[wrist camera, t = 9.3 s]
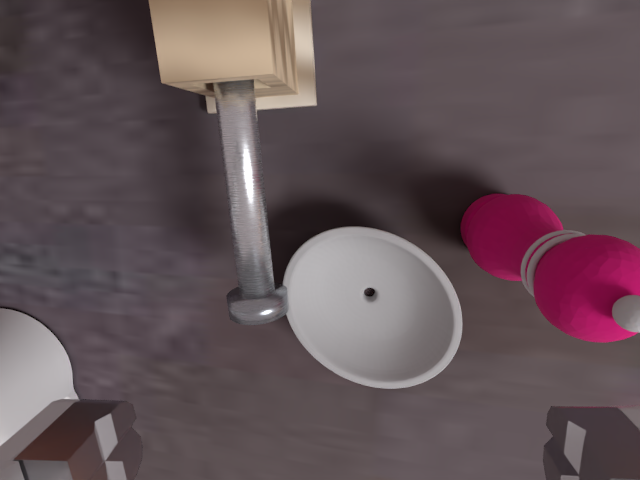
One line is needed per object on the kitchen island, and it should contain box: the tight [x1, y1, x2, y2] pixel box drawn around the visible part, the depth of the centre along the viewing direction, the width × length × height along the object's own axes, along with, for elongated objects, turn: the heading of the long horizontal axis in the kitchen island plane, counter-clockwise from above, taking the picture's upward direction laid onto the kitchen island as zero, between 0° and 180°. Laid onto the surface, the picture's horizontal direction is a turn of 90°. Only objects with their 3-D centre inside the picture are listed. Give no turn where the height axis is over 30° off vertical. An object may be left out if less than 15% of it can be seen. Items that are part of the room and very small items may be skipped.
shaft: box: [213, 79, 289, 325], centre depth 28 cm, size 25×5×5 cm, turn 4°
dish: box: [283, 226, 462, 389], centre depth 37 cm, size 18×14×5 cm
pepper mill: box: [461, 194, 640, 342], centre depth 27 cm, size 7×7×20 cm
